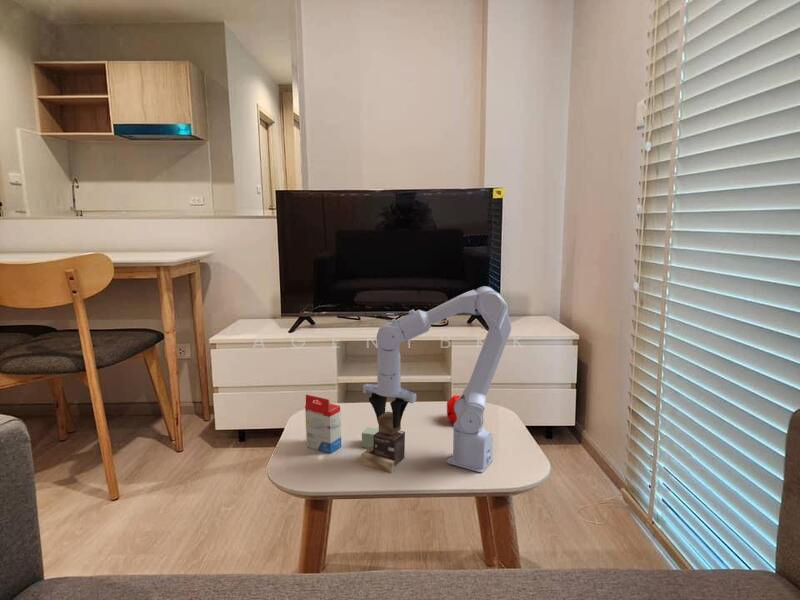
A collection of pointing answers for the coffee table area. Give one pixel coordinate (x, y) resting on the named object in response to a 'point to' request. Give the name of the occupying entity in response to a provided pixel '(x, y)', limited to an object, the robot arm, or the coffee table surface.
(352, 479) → the coffee table surface
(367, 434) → the block
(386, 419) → the walnut cube
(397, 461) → the box
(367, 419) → the coffee table surface
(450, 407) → the red faceted polyhedron
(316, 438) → the ink box
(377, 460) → the corner jig
